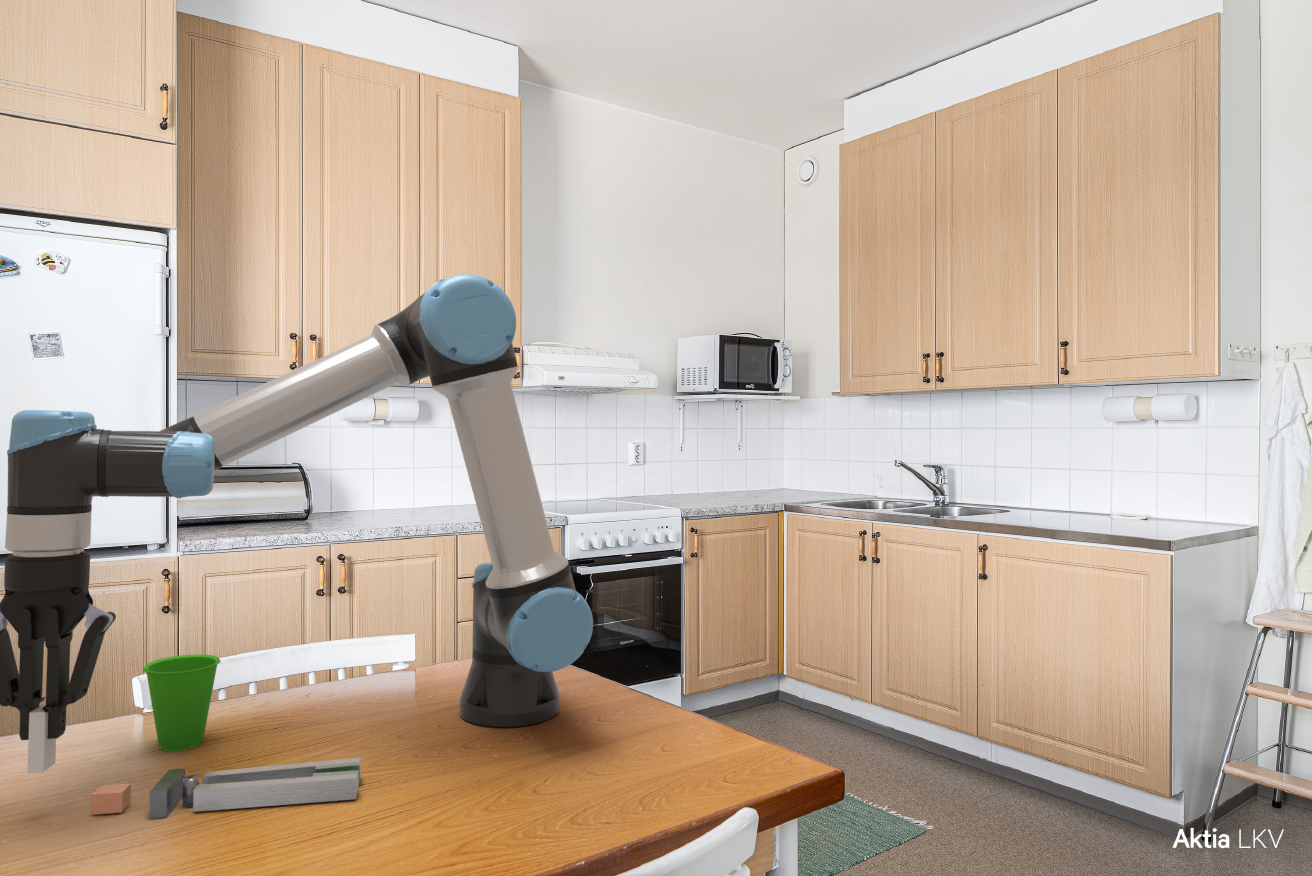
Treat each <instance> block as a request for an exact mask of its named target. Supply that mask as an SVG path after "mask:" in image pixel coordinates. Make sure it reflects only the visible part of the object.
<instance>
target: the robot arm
mask: <svg viewBox="0 0 1312 876" xmlns="http://www.w3.org/2000/svg"><path fill="white" fill-rule="evenodd" d="M515 311H516V310H515V308H514V305H513V302H512V300H511V299H510V297H509V296H508V295H507V293H506V292H505V291H504V290H503V289H502V288H501V287H500V286H499V285H498V284H496V283H494V282H493V281H492V280H490V279H488V278H486V277H484V276H480V275H476V274H472V273H471V274H470V273H468V274H467V273H462V274H461V273H460V274H454V275H451V276H449V277H446V278H443V279H442V278H441V279H439V280H437V281H436V282H434V283H433V284H432V285H431V286H430V287H428V289H427V290H426V291H425V292H424V293H422V294H421V295H419V297H417V298H416V299H415V300H414V301H413V302H412V303H411V304H409V305H407V306H406V307H405V308H404V309H403V310H400V312H398V313H397V314H395V315H393V316H391V317H390V318H388V319H386V320H384V321H381V322H380V323H377V324H374V326H373V328H372V331H371V334H370V335H368V336H365V337H364V338H362V339H359V340H357V341H355V342H353V343H351V344H348V345H346V346H344V347H342V348H339V349H337V350H335V351H333V352H331V353H329V354H326V355H324V356H321V357H320V358H317V359H315V360H313V361H311V362H309V363H306V364H304V365H302V366H300V367H298V368H296V369H294V370H293V369H292V370H291V371H289V372H287V373H285V374H283V375H279V376H278V377H277V378H276V377H275V378H274V379H272V380H269V381H267V382H264V383H263V384H261V385H258V386H256V387H253V388H252V389H250V390H248V391H245V392H243V393H241V394H238V395H236V396H233V397H232V398H230V399H227V400H225V401H223V402H221V403H219V404H217V405H214V406H212V407H210V408H207V409H206V410H204V411H201V412H199V413H197V414H194V415H193V416H191V417H189V418H186V419H183V420H181V421H179V422H176V423H174V424H171V425H170V426H168V427H165V428H163V429H161V430H159V431H156V430H154V431H153V430H137V431H136V430H112V429H102V428H98V426H97V424H96V423H95V422H96V421H95V416H94V415H93V413H91V412H89V411H75V410H74V411H73V410H72V411H69V410H68V411H67V410H50V409H49V410H47V409H46V410H45V409H39V410H38V409H23V410H20V411H19V412H17V413H16V414H14V416H12V419H11V426H10V427H11V428H10V436H9V446H8V449H7V451H6V455H7V506H6V526H5V539H4V541H5V543H4V548H5V549H6V550H7V551H9V552H12V553H11V554H8V555H7V557H5V558H4V573H3V574H4V575H3V577H4V578H3V579H4V580H3V587H4V591H5V592H4V595H3V597H2V599H1V601H0V706H1V707H8V706H9V707H12V708H15V709H17V710H18V711H19V734H18V736H19V739H20V740H21V741H28V742H27V743H28V746H27V747H28V748H27V750H28V751H27V752H28V753H27V772H26V773H27V774H40V773H41V774H42V773H44V772H46V771H47V770H48V769H50V768H51V767H52V766H53V765H54V764H55V765H56V756H57V755H56V753H57V752H56V751H57V749H56V748H57V739H59V738H60V737H62V736H63V735H64V733H65V732H66V729H67V726H66V725H67V707H68V705H73V704H75V703H76V702H78V701H79V700H80V699H82V698H83V697H85V696H86V695H87V693H88V690H89V688H90V684H91V680H92V677H93V675H94V672H95V671H94V670H95V667H96V665H97V661H98V658H99V654H100V651H101V647H102V644H103V642H104V638H105V634H106V632H107V631H108V629H109V628H110V627H111V625H112V624H113V623H114V622H115V620H116V617H117V615H116V613H115V612H112V611H107V612H105V611H104V610H102V609H100V608H98V607H97V606H95V605H94V599H93V597H92V595H91V594H90V590H89V587H90V579H91V578H90V575H91V574H90V573H91V569H90V568H91V554H90V553H89V552H88V551H86V550H84V549H87V548H88V547H90V545H91V542H92V541H91V538H92V537H91V535H92V510H93V509H92V508H93V506H92V505H93V503H92V502H93V498H94V497H101V498H103V497H104V498H109V497H129V498H130V497H132V498H134V497H136V498H139V497H141V498H142V497H145V498H156V497H157V498H160V497H161V498H175V499H183V498H188V497H189V498H190V497H203V496H207V495H209V494H211V492H212V491H213V488H214V480H215V472H216V471H217V470H219V469H221V468H223V467H225V466H227V465H229V464H231V463H233V462H235V461H237V460H239V459H241V458H242V459H243V458H244V457H245V456H247V455H249V454H252V453H254V452H255V451H259V450H260V449H263V448H264V447H267V446H268V445H271V444H272V443H274V442H277V441H279V440H282V439H284V438H285V437H287V436H289V435H291V434H293V433H295V432H298V431H299V430H302V429H304V428H306V427H308V426H310V425H312V424H314V423H317V422H318V421H320V420H323V419H324V418H327V417H329V416H331V415H334V414H335V413H337V412H340V411H341V410H343V409H346V408H348V407H350V406H352V405H354V404H356V403H358V402H360V401H362V400H364V399H366V398H368V397H371V396H373V395H375V394H377V393H379V392H380V391H383V390H385V389H387V388H389V387H392V386H393V385H396V384H397V385H401V386H402V385H403V386H405V387H407V386H410V385H412V384H414V383H416V382H419V381H420V380H423V379H425V378H428V377H429V378H430V384H431V387H432V390H434V391H435V392H436V393H438V394H440V395H442V396H443V397H445V398H446V399H447V401H448V404H449V408H450V413H451V416H452V420H453V424H454V427H455V431H456V435H457V438H458V442H459V446H460V449H461V453H462V457H463V461H464V465H465V467H466V472H467V476H468V479H469V483H470V487H471V490H472V494H473V498H474V501H475V504H476V505H475V506H476V509H477V514H478V517H479V520H480V524H481V529H482V531H483V535H484V539H485V542H486V546H487V550H488V554H489V557H490V561H491V562H483V563H479V564H478V565H477V566H476V567H475V569H474V572H473V581H472V584H471V586H472V590H473V591H472V647H471V648H472V657H471V658H472V659H471V660H472V661H471V665H470V667H469V671H468V673H467V676H466V680H465V683H464V686H463V688H462V692H461V694H460V697H459V716H460V717H461V718H462V719H464V721H467V722H469V723H472V724H475V725H478V726H480V725H481V726H484V727H494V728H512V727H514V728H515V727H522V726H529V725H533V724H539V723H542V722H545V721H548V720H551V718H554V717H555V716H556V715H557V714H558V713H559V712H560V698H561V697H560V692H559V690H558V685H557V682H556V679H555V676H554V673H553V672H557V671H560V670H563V669H565V668H566V667H569V666H571V665H572V664H573V663H574V662H576V661H577V660H578V659H579V658H580V657H581V655H582V654H583V653H585V651H584V650H586V648H587V646H588V644H589V643H590V640H591V638H592V634H593V628H594V618H593V613H592V610H591V608H590V606H589V604H588V602H587V600H585V598H584V597H583V595H582V593H579V592H578V591H577V590H576V587H575V583H574V579H573V578H574V577H573V575H572V571H571V568H570V563H569V560H568V558H567V557H566V556H564V555H563V554H560V553H559V552H557V551H556V550H555V548H554V546H553V540H552V537H551V533H550V531H549V525H548V522H547V518H546V514H545V510H544V507H543V503H542V498H541V495H540V492H539V487H538V483H537V479H536V475H535V472H534V468H533V464H532V460H531V456H530V453H529V449H528V445H527V441H526V436H525V434H524V429H523V426H522V421H521V417H520V414H519V410H518V405H517V401H516V398H515V394H514V390H513V386H512V382H513V379H514V378H515V376H516V373H517V372H518V370H519V364H518V360H517V357H516V353H515V348H514V344H513V341H514V339H515V335H516V330H517V315H516V312H515ZM84 618H85V619H86V620H85V622H84V627H85V629H87V630H86V631H85V633H84V635H83V637H82V640H81V643H80V647H79V650H78V653H77V656H76V660H75V664H74V667H73V669H72V673H71V676H70V666H71V664H70V662H71V642H72V640H73V636H74V635H73V634H74V633H73V632H74V630H75V628H76V627H77V626H78V625H79V624H80V623H81V622H82V620H83V619H84ZM8 624H10V625H11V627H12V628H13V629H14V630H15V631H16V633H17V648H18V649H19V667H18V665H17V662H16V661H17V660H16V657H15V653H14V649H13V645H12V642H11V636H10V633H9V631H8V629H7V626H8ZM45 647H46V653H47V654H46V684H45V686H46V687H45V689H46V690H45V696H44V697H43V677H44V653H45V651H44V650H45ZM18 668H19V669H18ZM44 701H45V704H41V703H42V702H44Z"/></svg>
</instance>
